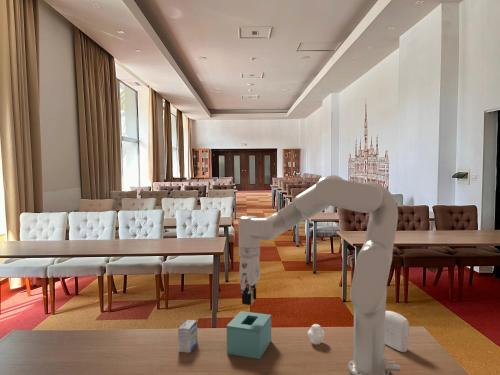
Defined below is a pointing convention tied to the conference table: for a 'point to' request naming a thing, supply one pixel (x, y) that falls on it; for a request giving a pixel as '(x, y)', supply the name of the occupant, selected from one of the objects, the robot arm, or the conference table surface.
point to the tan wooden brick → (251, 296)
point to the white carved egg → (316, 334)
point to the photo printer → (396, 331)
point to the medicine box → (187, 336)
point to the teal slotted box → (249, 334)
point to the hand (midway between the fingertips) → (249, 300)
